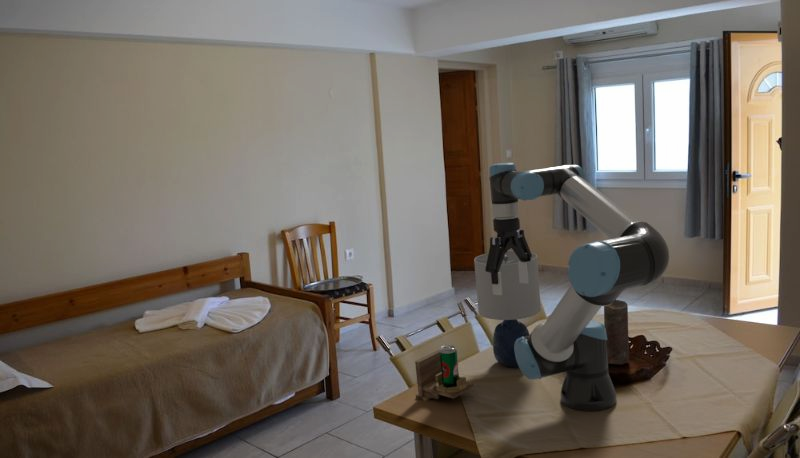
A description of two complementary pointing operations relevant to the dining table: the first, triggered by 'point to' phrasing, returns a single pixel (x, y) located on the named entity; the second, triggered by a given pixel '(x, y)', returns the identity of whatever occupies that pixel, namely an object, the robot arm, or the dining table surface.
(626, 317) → the candle
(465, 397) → the dining table surface
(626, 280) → the robot arm
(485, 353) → the dining table surface
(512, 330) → the lamp
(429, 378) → the bracket
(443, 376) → the soda can
